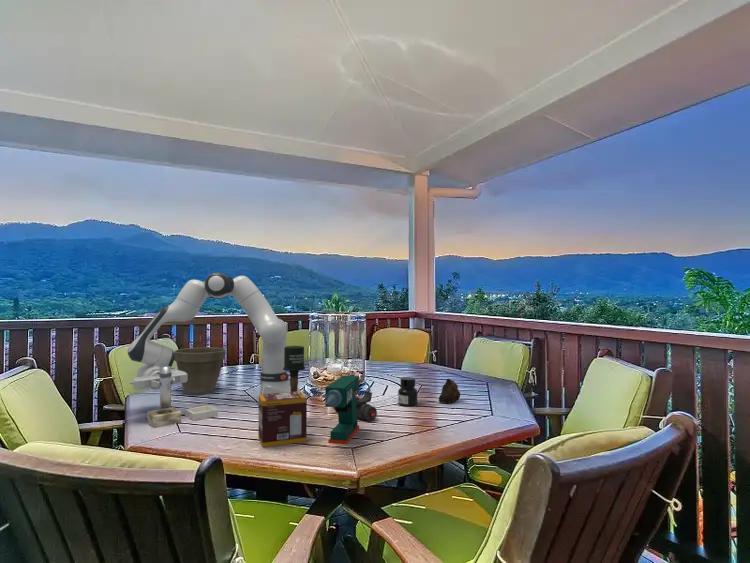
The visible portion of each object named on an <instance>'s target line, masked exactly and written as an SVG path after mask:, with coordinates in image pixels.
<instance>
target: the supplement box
mask: <svg viewBox="0 0 750 563" xmlns="http://www.w3.org/2000/svg"><path fill="white" fill-rule="evenodd" d="M300 391H301V390H300ZM300 391H296V392H285V393H274V394H260V393H259V394H258V399H259V404H258V432H257V433H258V434H257V435H258V436H257V438H258V441H259V443H260V445H261V447H262V448H268V447H270V448H271V447H277V446H285V445H294V444H300V443H306V442H307V439H308V438H307V432H308V431H307V428H308V426H307V421H308V420H307V419H308V418H307V417H308V416H307V414H308V413H307V412H308V411H307V410H308V409H307V408H308V404H307V403H308V401H307V399H308V397H306V396H305V395H304V394H303V393H302V391H301V392H300ZM293 443H294V444H293Z"/></svg>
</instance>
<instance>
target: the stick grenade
mask: <svg viewBox="0 0 750 563" xmlns="http://www.w3.org/2000/svg"><path fill="white" fill-rule="evenodd" d="M283 370H285V371H286V372H289V373H290V376H289V380H290V386H291V392H296V391H297V387H298V386H299V373H300V372H301V371H304V370H306V367H305V347H304V346H303V345H286V347H285V348H284V368H283ZM298 388H299V387H298Z"/></svg>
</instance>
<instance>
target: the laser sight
mask: <svg viewBox="0 0 750 563" xmlns="http://www.w3.org/2000/svg"><path fill="white" fill-rule="evenodd" d="M364 392H365V394H364V396H362V397H361V398H360V397H357V395H356V396H355V400H356V417H357V418H358V420H362V421H368V422H373V421H375V419H376V418H377V415H378V411H377V408H376V407H375V406H373V405H371V404H370V403H371V402H372V396H373V392H370V391H367V390H366V391H364ZM332 408H333V409H334V410H335V411H336V407H332Z"/></svg>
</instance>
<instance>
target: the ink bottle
mask: <svg viewBox="0 0 750 563" xmlns="http://www.w3.org/2000/svg"><path fill="white" fill-rule="evenodd" d="M397 396H398V397H397V399H398V400H397V401H398V403H397V404H398V406H400V407H401V406H402V407H414V406H415V407H416V406H418V390H417V389H416V378H415V377H410V376H403V377H400V388H398V391H397Z"/></svg>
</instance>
